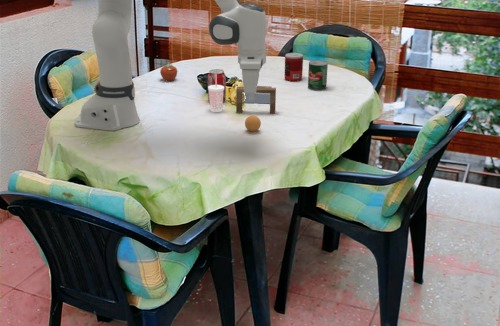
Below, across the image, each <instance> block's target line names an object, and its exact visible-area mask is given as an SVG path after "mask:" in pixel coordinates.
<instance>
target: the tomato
mask: <svg viewBox="0 0 500 326" xmlns="http://www.w3.org/2000/svg"><path fill="white" fill-rule="evenodd" d="M159 73H160V75H161V78H162V79H163V80H164V81H165V82H174V80H175V79H176V78H177V75H178V68H177V67H176V66H174V65H173V64H171V62H167V64H164V65H163V66H162V67H161V68H160V72H159Z"/></svg>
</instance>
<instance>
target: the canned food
mask: <svg viewBox="0 0 500 326" xmlns="http://www.w3.org/2000/svg"><path fill="white" fill-rule="evenodd" d="M303 69H304V55H303V53H299V52H288V53H286V54H284V80H285V81H287V82H290V83H291V82H292V83H294V82H301V81H302V79H303V72H304V71H303Z"/></svg>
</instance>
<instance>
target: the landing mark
mask: <svg viewBox="0 0 500 326" xmlns="http://www.w3.org/2000/svg"><path fill="white" fill-rule="evenodd" d="M245 96H246V99H245V101H244V103H243V104H254V103H258V104H259V105H260V104H262V105H270V93H256V94H255V99H254V100H253V101H250V100H249V94H245Z"/></svg>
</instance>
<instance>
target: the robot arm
mask: <svg viewBox="0 0 500 326" xmlns="http://www.w3.org/2000/svg"><path fill="white" fill-rule="evenodd" d="M214 2H216V4H217V6H218V7H219V9H220V10H221V11H222V13H219V14H217V15H216V16H214V17H213V18H212V19H211V20H210V22H209V24H208V32H209V35H210V38H211V39H212V41H214V43H215V44H217V45H220V46H221V45H223V46H228V45H235V44H236V45H237V63H238V64H239V68H240V70H241V75H242V77H241V78H242V85H243V86H242V87H243V88H244V92H243V94H244V93H245V94H249V100H250V101H253V100H254V99H255V94H257V93H256V90H257V86H258V83H259V78H260V71H261V70H262V68H263V66H264V65H265V64H266V63H267V44H266V36H267V17H266V15H267V14H266V12H265V9H264V8H263V7H262V6H261V5H258V4H256V3H250V2H245V3H241V2H240V0H214ZM97 4H98V10H97V11H98V14H97V18H96V19H95V20H94V22H93V24H92V27H91V29H92V31H91V33H92V38H93V44H94V49H95V50H94V51H95V53H96V58H97V63H98V65H97V66H98V73H99V80H98V81H97V82H96V84H95V86H94V88H93V91H94V93H95V94H93V96H91V97H90V98H89V99H87V100H86V101H85V102H84V103H83V105H82V107H81V110H80V114H79V116H77V117H76V118H75V120H74V126H75V127H76V128H83V129H84V128H85V129H94V130H102V131H103V130H104V131H110V132H112V131H114V132H115V131H118V130H121V129H124V128H130V127H133V126H135V125H137V124H138V123H140V122H141V120H140V116H139V113H138V111H137V107H136V102H135V98H136V92H135V84H134V81H133V72H132V71H133V69H132V59H131V55H130V49H129V43H128V42H129V41H128V34H129V32H130V30H131V25H132V24H131V23H132V4H133V0H98V3H97Z"/></svg>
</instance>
